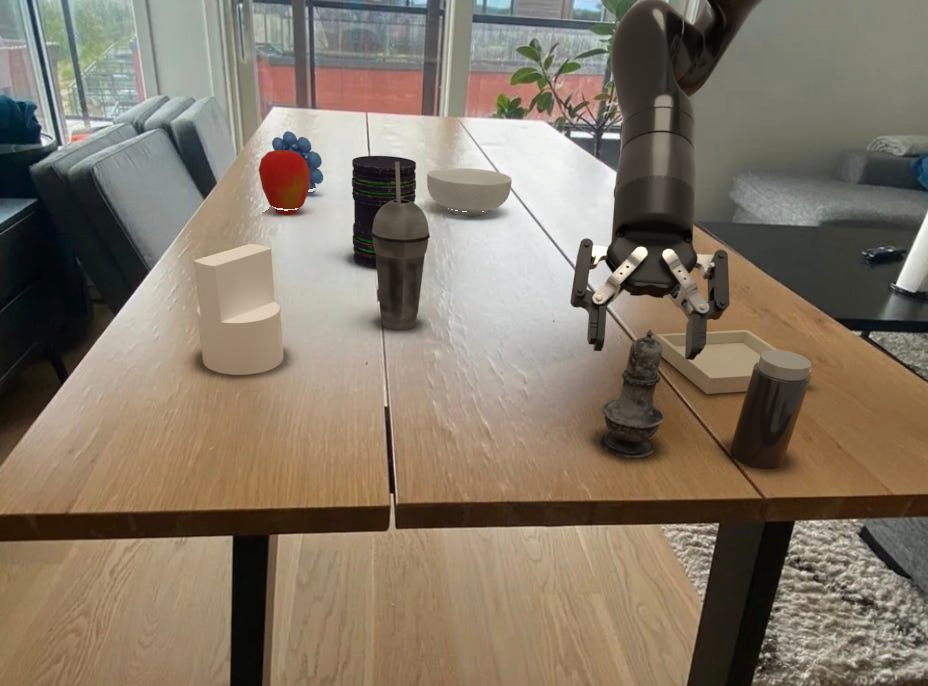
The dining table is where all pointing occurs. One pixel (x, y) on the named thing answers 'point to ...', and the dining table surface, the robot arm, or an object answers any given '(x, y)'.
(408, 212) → the beverage cup
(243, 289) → the cylinder with rectangular tab
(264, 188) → the apple
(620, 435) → the salt shaker
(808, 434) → the dining table surface
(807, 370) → the black pepper shaker
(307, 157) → the grapes
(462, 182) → the cereal bowl
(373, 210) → the storage jar
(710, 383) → the ivory tray
